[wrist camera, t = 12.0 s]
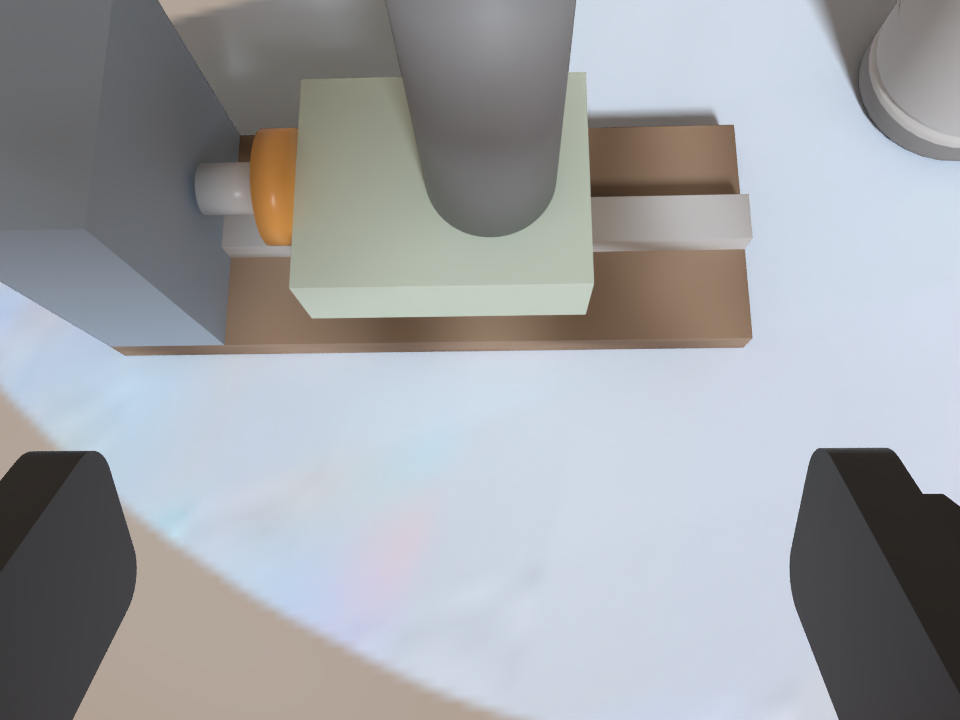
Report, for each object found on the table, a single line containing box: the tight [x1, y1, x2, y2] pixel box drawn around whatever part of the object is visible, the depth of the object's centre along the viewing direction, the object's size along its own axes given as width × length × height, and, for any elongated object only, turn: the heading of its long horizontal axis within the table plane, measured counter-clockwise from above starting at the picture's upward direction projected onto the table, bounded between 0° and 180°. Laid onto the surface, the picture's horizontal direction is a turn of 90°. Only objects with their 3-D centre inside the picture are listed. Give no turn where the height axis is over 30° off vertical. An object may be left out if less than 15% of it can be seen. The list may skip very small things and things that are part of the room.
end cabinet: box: [0, 0, 240, 347], centre depth 26 cm, size 4×8×10 cm, turn 0°
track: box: [112, 125, 752, 356], centre depth 30 cm, size 22×8×2 cm, turn 90°
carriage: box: [289, 0, 594, 319], centre depth 23 cm, size 9×7×13 cm
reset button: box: [195, 128, 298, 246], centre depth 27 cm, size 3×4×4 cm
